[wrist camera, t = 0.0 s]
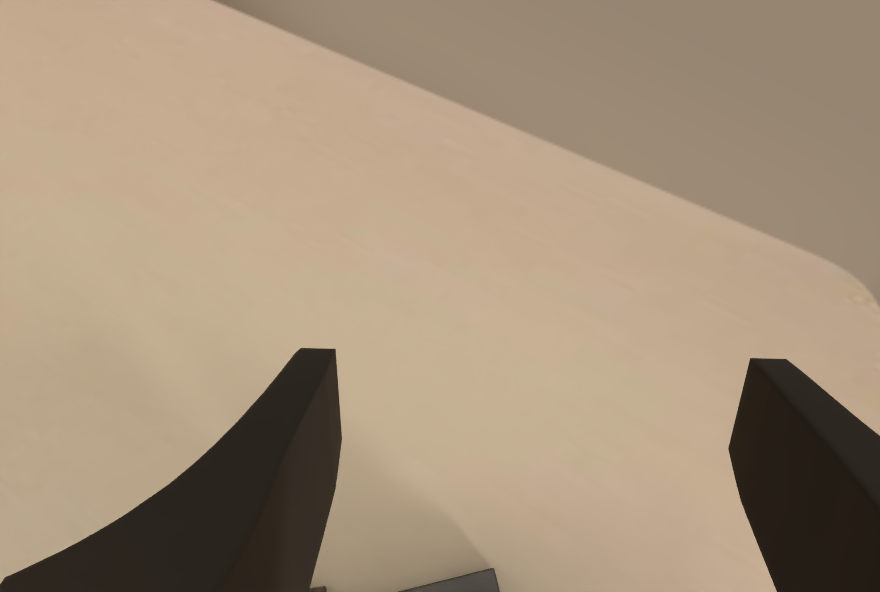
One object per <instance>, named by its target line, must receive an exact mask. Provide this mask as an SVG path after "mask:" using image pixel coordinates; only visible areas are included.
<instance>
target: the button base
mask: <svg viewBox="0 0 880 592" xmlns="http://www.w3.org/2000/svg"><path fill="white" fill-rule="evenodd" d="M399 592H500V591H499V587H498V583H497V579H496V575H495V571H494V568H491V569H487V570H483V571H479V572H475V573H471V574H467V575H463V576H459V577H455V578H451V579H447V580H443V581H439V582H435V583H431V584H427V585H423V586H419V587H415V588H411V589H407V590H403V591H399Z"/></svg>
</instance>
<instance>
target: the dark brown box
mask: <svg viewBox="0 0 880 592" xmlns="http://www.w3.org/2000/svg"><path fill="white" fill-rule="evenodd" d="M314 589H315V592H327V591H326V587H325V586H323V587H316V588H314Z"/></svg>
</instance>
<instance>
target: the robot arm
mask: <svg viewBox="0 0 880 592" xmlns="http://www.w3.org/2000/svg"><path fill="white" fill-rule="evenodd" d="M341 442H342V434H341V420H340V406H339V392H338V378H337V364H336V350H335V349H315V348H301V349H299V350H298V351H297V352H296V353H295V354H294V355H293V357H292V358H291V359H290V361H289V362H288V363H287V364H286V366H285V367H284V368H283V369H282V371H281V372H280V373H279V374H278V376H277V377H276V378H275V379H274V381H273V382H272V383H271V384H270V385H269V387H268V388H267V389H266V390H265V391H264V393H263V394H262V395H261V396H260V397H259V398H258V399H257V401H256V402H255V403H254V404H253V405H252V406H251V407H250V408H249V409H248V411H247V412H246V413H245V414H244V415H243V416H242V417H241V418H240V419H239V421H238V422H237V423H236V424H235V425H234V426H233V427H232V428H231V429H230V430H229V431H228V432H227V433H226V434H225V435H224V436H223V437H222V438H221V439H220V440H219V441H218V442H217V443H216V444H215V445H214V446H213V447H212V448H211V449H209V450H208V451H207V452H206V453H205V454H204V455H203V456H202V457H201V458H200V459H198V460H197V461H196V462H195V463H194V464H193V465H192V466H190V467H189V468H188V469H187V470H186V471H185V472H183V473H182V474H181V475H180V476H178V477H177V478H176V479H175V480H174V481H172V482H171V483H170V484H169V485H167V486H166V487H164V488H163V489H162V490H160V491H159V492H157V493H156V494H154V495H153V496H152V497H150V498H149V499H147V500H146V501H144V502H143V503H141V504H140V505H139V506H137V507H136V508H134V509H133V510H131V511H130V512H128V513H127V514H125V515H124V516H122V517H121V518H119V519H117V520H116V521H114V522H112V523H111V524H109V525H108V526H106V527H104V528H103V529H101V530H99V531H97V532H96V533H94V534H92V535H90V536H89V537H87V538H85V539H83V540H81V541H80V542H78V543H76V544H74V545H72V546H70V547H68V548H66V549H65V550H63V551H61V552H59V553H56V554H54V555H52V556H50V557H48V558H46V559H44V560H42V561H40V562H38V563H36V564H33V565H31V566H29V567H27V568H25V569H23V570H21V571H19V572H17V573H14V574H12V575H10V576H7V577H5V578H4V580H3V581H2V583H1V584H0V592H308V591H309V588H310V584H311V580H312V576H313V572H314V569H315V565H316V561H317V557H318V554H319V550H320V546H321V542H322V538H323V535H324V531H325V527H326V523H327V519H328V516H329V512H330V508H331V504H332V500H333V496H334V492H335V487H336V480H337V473H338V465H339V458H340V450H341ZM728 449H729V453H730V458H731V462H732V467H733V471H734V475H735V480H736V483H737V487H738V491H739V495H740V499H741V502H742V505H743V507H744V510H745V513H746V515H747V518H748V520H749V523H750V525H751V528H752V530H753V533H754V536H755V538H756V541H757V543H758V546H759V548H760V551H761V553H762V556H763V558H764V560H765V563H766V565H767V568H768V570H769V573H770V575H771V578H772V580H773V583H774V585H775V588H776V590H777V592H880V436H879V435H878V434H877V433H875V432H874V431H873V430H872V429H870V428H869V427H868V426H867V425H865V424H864V423H863V422H862V421H860V420H859V419H858V418H857V417H856V416H854V415H853V414H852V413H851V412H850V411H848V410H847V409H846V408H845V407H844V406H842V405H841V404H840V403H839V402H838V401H836V400H835V399H834V398H833V397H832V396H830V395H829V394H828V393H827V392H826V391H825V390H823V389H822V388H821V387H820V386H819V385H817V384H816V383H815V382H814V381H813V380H811V379H810V378H809V377H808V376H807V375H806V374H804V373H803V372H802V371H801V370H799V369H798V368H797V367H796V366H794V365H793V364H792V363H790V362H789V361H788V360H786V359H759V358H750V362H749V366H748V370H747V374H746V378H745V382H744V386H743V391H742V395H741V399H740V403H739V407H738V411H737V415H736V420H735V424H734V428H733V432H732V436H731V440H730V444H729V448H728Z"/></svg>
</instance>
